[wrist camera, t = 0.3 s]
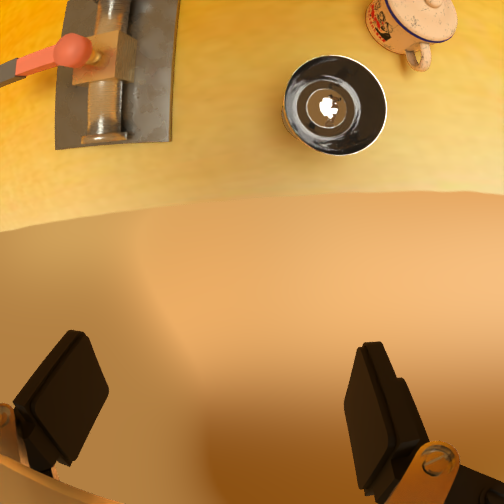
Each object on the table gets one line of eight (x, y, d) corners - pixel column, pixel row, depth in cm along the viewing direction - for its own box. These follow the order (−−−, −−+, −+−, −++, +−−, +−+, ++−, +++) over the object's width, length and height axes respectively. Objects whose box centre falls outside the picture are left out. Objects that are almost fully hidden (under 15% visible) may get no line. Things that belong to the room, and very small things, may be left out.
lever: (94, 34, 22) (82, 29, 20) (90, 64, 24) (78, 61, 22) (-1, 67, 23) (-13, 66, 21) (-3, 93, 24) (-16, 93, 22)
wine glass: (276, 144, 36) (281, 151, 22) (279, 80, 33) (285, 49, 19) (341, 148, 36) (384, 161, 22) (344, 86, 32) (387, 63, 19)
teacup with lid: (357, -6, 27) (384, -45, 16) (417, 2, 26) (458, -26, 15) (372, 74, 32) (410, 56, 21) (433, 79, 31) (483, 69, 20)
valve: (71, 2, 28) (33, -15, 19) (183, -24, 27) (161, -57, 18) (59, 149, 37) (15, 158, 28) (171, 141, 36) (141, 145, 27)
